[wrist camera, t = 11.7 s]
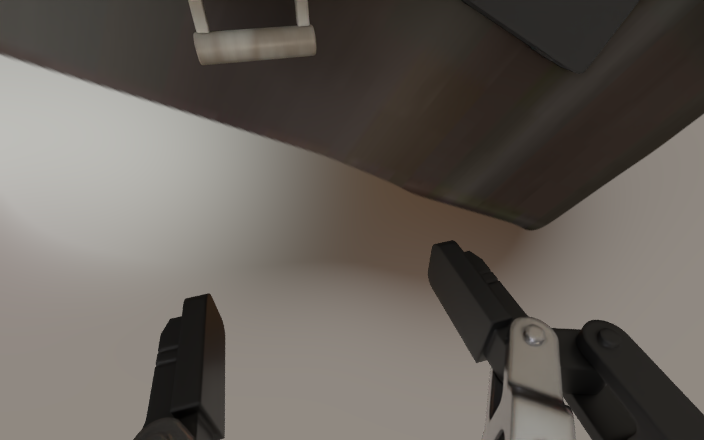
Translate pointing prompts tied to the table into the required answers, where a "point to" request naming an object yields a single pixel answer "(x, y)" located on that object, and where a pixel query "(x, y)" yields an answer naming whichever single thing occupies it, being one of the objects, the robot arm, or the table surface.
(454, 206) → the table surface
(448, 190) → the table surface
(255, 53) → the drawer
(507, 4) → the smart home device
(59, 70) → the table surface
